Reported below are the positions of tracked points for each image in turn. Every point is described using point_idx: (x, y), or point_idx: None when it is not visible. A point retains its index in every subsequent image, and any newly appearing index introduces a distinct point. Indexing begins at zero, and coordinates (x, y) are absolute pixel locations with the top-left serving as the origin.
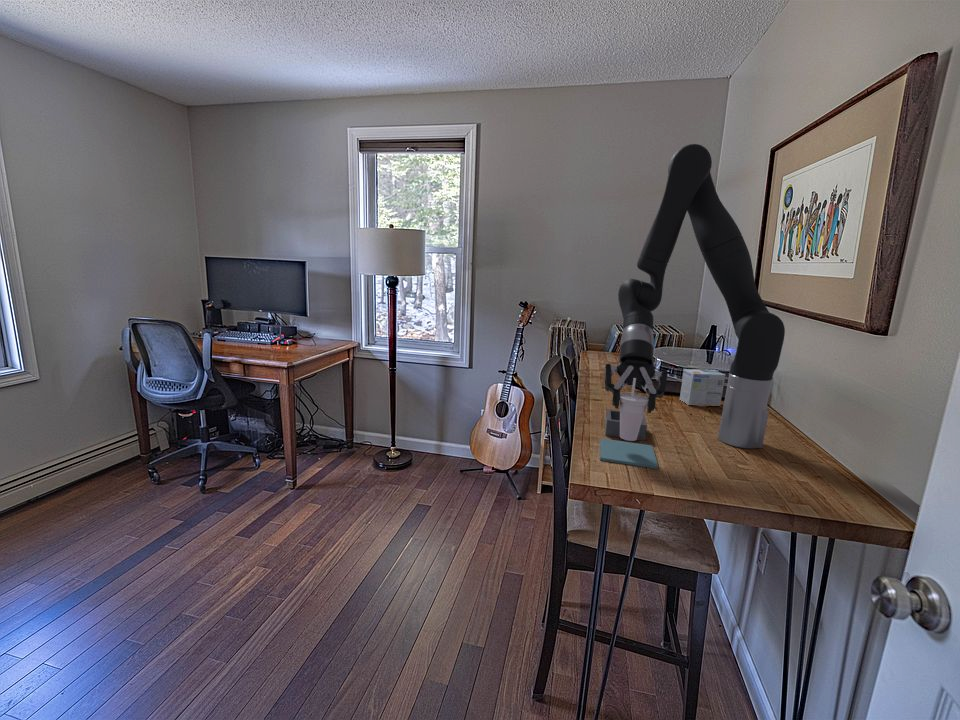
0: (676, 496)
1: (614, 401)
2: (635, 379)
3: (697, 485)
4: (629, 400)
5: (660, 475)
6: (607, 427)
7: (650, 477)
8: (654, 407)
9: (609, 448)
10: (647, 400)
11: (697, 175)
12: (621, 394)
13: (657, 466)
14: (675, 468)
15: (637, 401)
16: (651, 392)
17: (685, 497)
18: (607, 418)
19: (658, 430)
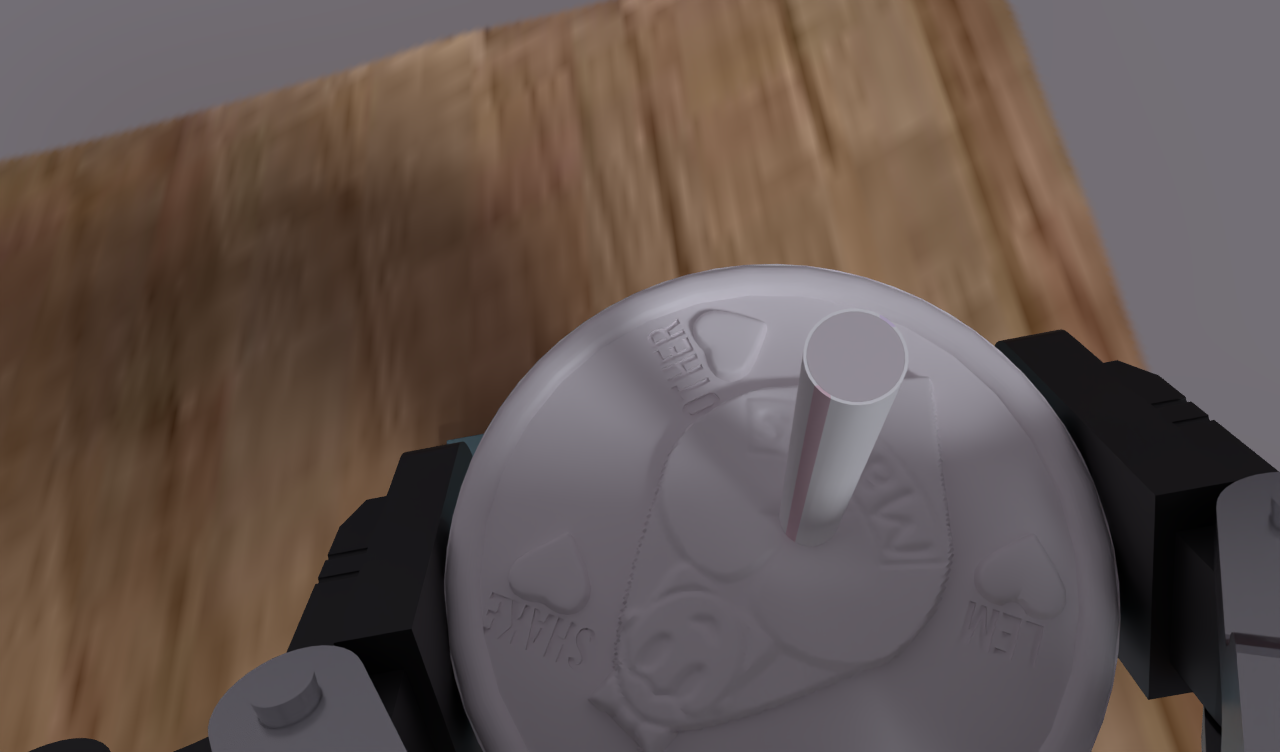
0: (344, 74)
1: (1113, 371)
2: (817, 338)
3: (179, 309)
4: (819, 269)
5: (435, 334)
6: None
7: (509, 257)
8: (360, 512)
9: None
10: (471, 479)
11: None
12: (1083, 605)
13: (453, 439)
14: (306, 547)
15: (661, 287)
16: (348, 670)
17: (290, 91)
18: None
19: None
